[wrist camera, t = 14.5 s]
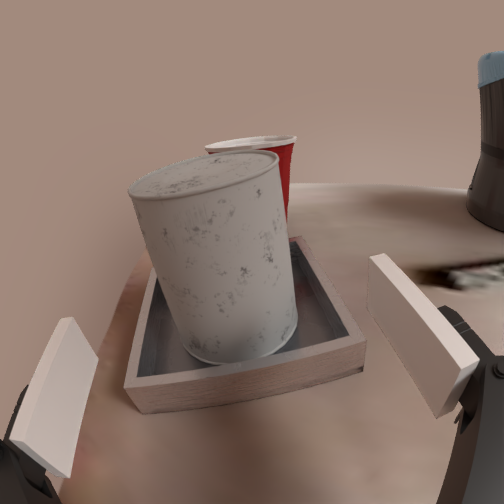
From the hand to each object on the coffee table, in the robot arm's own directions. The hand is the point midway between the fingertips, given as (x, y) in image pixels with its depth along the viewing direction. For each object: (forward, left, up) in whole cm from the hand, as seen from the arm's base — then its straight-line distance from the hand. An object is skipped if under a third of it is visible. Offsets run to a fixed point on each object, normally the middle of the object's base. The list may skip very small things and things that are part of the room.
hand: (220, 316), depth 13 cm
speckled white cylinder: (0, -9, -8) cm, 12 cm away
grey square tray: (0, -9, -9) cm, 13 cm away
